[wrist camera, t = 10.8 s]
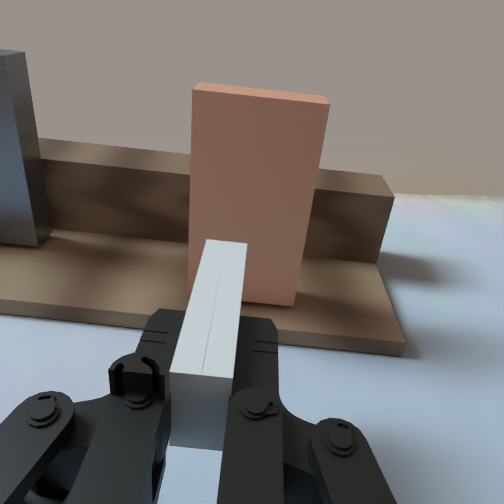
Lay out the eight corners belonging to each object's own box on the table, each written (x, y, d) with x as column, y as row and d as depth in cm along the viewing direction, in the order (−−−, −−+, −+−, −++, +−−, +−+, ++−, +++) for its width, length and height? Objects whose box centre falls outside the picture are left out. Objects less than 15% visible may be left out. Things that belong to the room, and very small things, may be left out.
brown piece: (362, 248, 34) (381, 175, 31) (400, 356, 23) (434, 262, 20) (-70, 201, 34) (-94, 123, 31) (-225, 289, 23) (-284, 184, 20)
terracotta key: (292, 286, 26) (325, 96, 20) (293, 306, 24) (330, 104, 19) (193, 275, 26) (199, 82, 20) (187, 295, 24) (192, 89, 19)
